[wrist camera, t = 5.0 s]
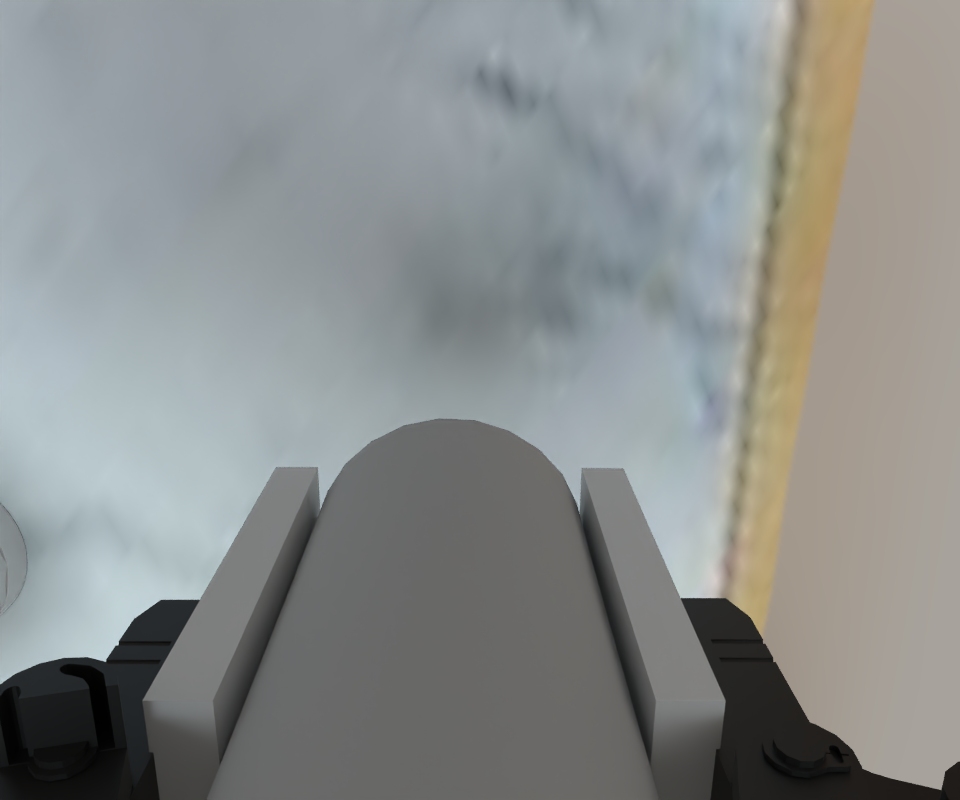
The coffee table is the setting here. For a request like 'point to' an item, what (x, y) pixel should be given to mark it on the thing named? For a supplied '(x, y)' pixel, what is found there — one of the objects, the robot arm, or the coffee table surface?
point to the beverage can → (441, 640)
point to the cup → (10, 560)
